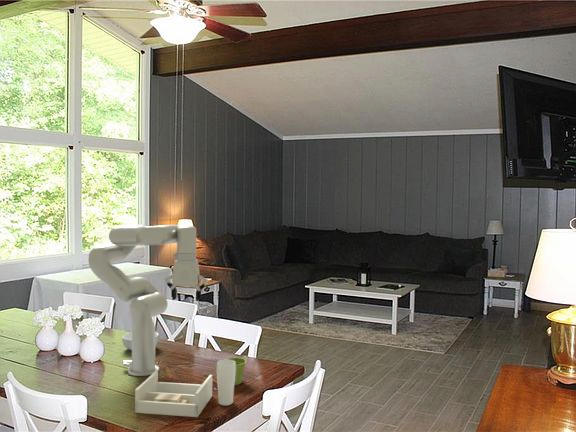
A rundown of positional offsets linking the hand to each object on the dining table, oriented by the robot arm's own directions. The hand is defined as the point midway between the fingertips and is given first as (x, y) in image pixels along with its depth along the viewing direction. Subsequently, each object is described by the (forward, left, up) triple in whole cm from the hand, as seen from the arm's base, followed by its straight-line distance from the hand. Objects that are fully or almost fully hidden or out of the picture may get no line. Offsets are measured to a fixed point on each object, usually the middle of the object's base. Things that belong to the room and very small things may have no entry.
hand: (186, 299), depth 219 cm
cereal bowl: (-33, +35, -33) cm, 58 cm away
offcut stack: (+4, -30, -33) cm, 44 cm away
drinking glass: (+22, -21, -32) cm, 44 cm away
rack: (+4, -24, -32) cm, 41 cm away
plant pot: (+20, 0, -32) cm, 38 cm away
